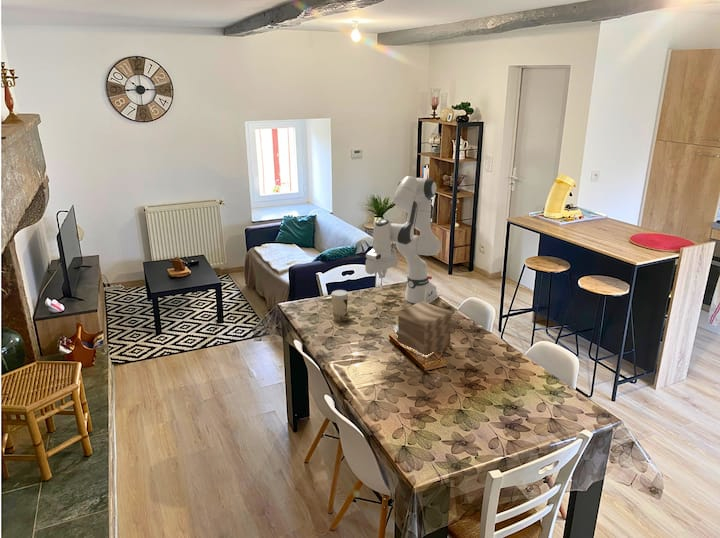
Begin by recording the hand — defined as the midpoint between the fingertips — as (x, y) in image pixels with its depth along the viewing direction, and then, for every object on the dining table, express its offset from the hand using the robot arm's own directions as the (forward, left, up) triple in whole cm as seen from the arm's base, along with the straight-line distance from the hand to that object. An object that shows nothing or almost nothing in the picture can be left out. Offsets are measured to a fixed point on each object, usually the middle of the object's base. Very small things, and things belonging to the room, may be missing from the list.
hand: (382, 277), depth 281 cm
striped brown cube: (0, +29, -28) cm, 40 cm away
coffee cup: (+3, -30, -28) cm, 42 cm away
